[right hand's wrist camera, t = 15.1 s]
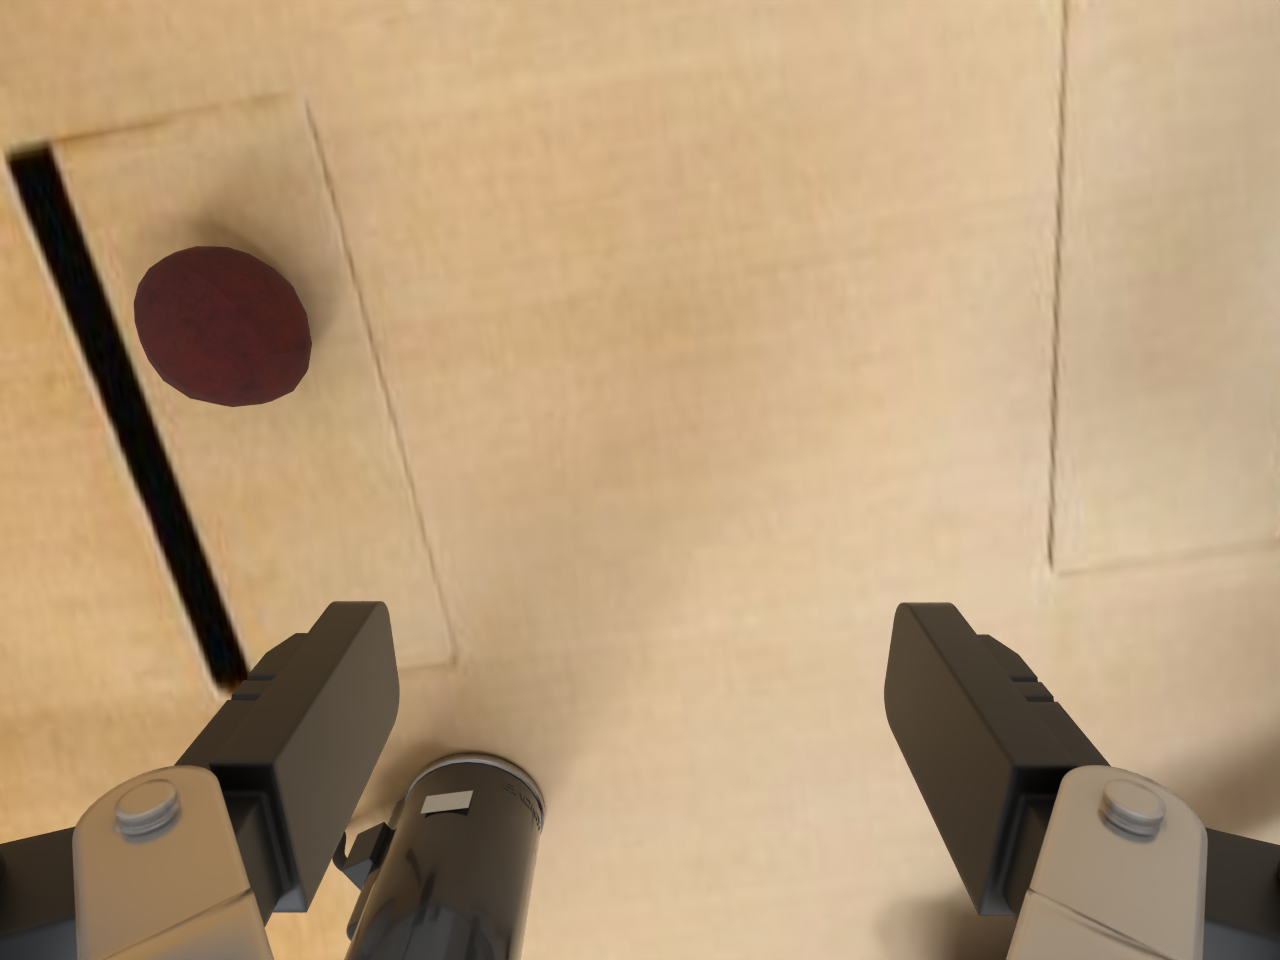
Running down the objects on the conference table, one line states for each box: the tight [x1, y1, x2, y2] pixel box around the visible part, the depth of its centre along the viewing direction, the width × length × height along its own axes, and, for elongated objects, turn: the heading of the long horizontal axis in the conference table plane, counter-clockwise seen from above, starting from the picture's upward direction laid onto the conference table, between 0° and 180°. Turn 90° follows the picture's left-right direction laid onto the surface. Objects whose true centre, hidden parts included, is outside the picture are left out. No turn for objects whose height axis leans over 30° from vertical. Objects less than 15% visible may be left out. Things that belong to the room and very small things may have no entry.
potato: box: [134, 246, 312, 407], centre depth 35 cm, size 7×8×7 cm
